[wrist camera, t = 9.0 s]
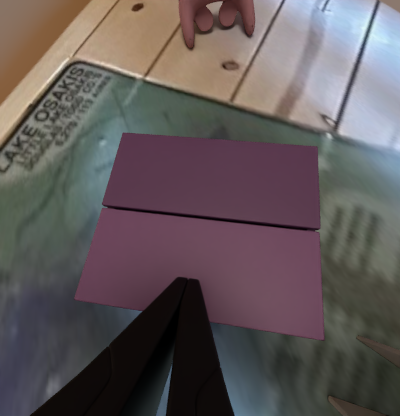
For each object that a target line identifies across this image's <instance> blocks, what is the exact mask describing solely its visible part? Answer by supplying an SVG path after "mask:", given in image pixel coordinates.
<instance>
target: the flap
mask: <svg viewBox="0 0 400 416" xmlns="http://www.w3.org/2000/svg"><path fill="white" fill-rule="evenodd" d="M177 277H186V278H188V279H189V278H193V279H198V280H199V281H200V285H201V289H202V293H203V297H204V301H205V305H206V309H207V313H208V317H209V321H210V322H212V323H218V324H224V325H231V326H237V327H243V328H249V329H255V330H261V331H267V332H273V333H280V334H286V335H292V336H298V337H304V338H310V339H316V340H322V341H324V340H325V338H324V318H323V297H322V277H321V256H320V236H319V232H313V231H304V230H295V229H286V228H277V227H268V226H260V225H251V224H242V223H233V222H224V221H215V220H206V219H197V218H188V217H180V216H171V215H162V214H153V213H144V212H135V211H126V210H117V209H108V208H102V210H101V214H100V217H99V220H98V223H97V227H96V230H95V233H94V236H93V240H92V243H91V246H90V249H89V252H88V256H87V259H86V262H85V265H84V269H83V272H82V275H81V278H80V282H79V285H78V288H77V291H76V294H75V298H74V300H77V301H84V302H90V303H96V304H102V305H108V306H114V307H120V308H126V309H133V310H139V311H144V310H145V309H146V308H147V307H148V306H149V305H150V304H151V303H152V302H153V301H154V300H155V299H156V298H157V297H158V296H159V295H160V294H161V293H162V292H163V291H164V290H165V289H166V288H167V287H168V286H169V285H170V284H171V283H172V282H173V281H174V280H175V279H176V278H177Z"/></svg>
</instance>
